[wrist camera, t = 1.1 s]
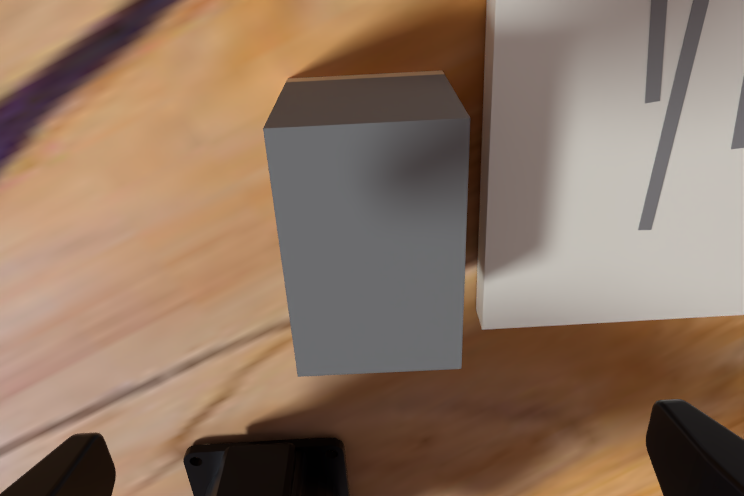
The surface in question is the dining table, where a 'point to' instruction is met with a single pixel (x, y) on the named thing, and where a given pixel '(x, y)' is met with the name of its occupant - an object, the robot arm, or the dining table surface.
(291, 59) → the dining table surface
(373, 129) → the block
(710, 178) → the board
